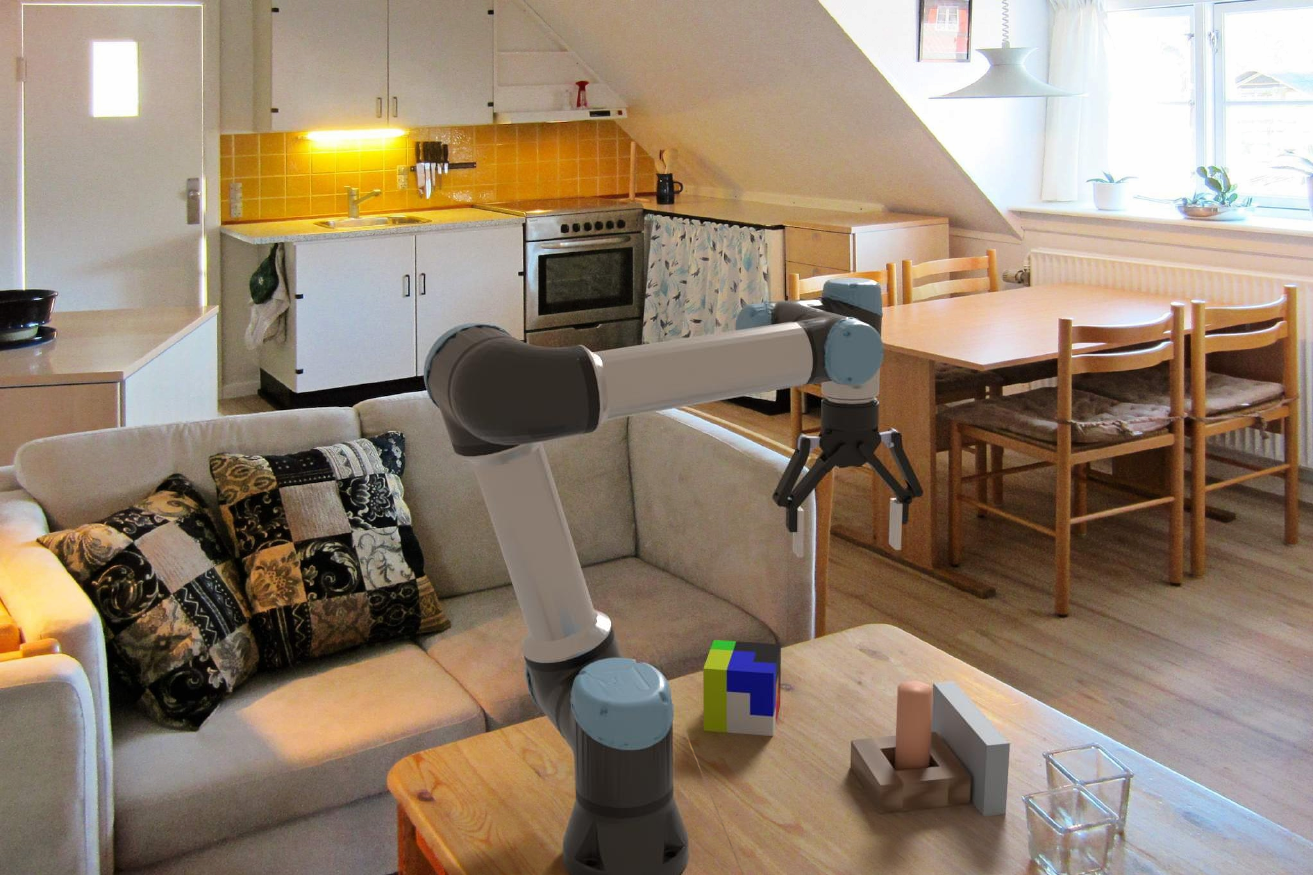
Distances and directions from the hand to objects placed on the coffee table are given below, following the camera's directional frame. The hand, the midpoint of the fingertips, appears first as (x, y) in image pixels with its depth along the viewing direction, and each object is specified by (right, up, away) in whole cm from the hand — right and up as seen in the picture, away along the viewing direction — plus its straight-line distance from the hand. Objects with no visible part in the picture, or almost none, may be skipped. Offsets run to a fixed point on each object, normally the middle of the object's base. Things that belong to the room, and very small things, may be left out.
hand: (846, 550), depth 174 cm
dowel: (+8, -31, -4) cm, 32 cm away
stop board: (+15, -30, -3) cm, 34 cm away
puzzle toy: (-13, -26, +15) cm, 33 cm away
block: (+7, -31, -4) cm, 32 cm away
